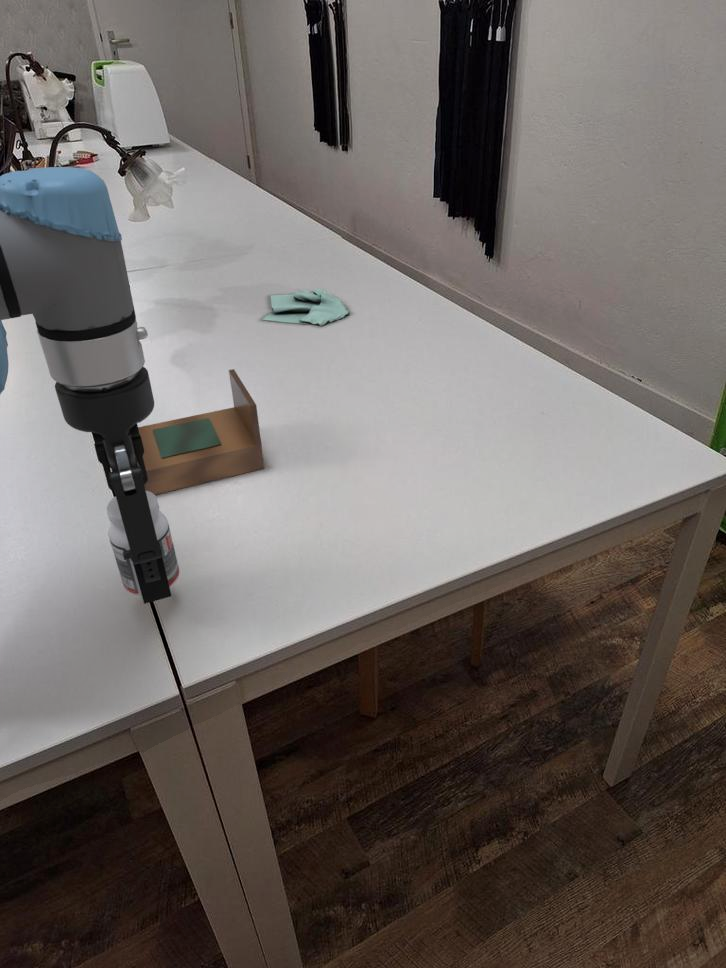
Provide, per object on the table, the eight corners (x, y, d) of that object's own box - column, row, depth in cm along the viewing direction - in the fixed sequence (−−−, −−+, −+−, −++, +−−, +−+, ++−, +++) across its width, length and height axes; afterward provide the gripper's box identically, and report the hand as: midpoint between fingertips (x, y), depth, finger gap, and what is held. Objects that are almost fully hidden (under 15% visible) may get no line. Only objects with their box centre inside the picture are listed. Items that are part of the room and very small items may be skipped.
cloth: (328, 330, 131) (327, 319, 130) (237, 315, 139) (235, 304, 137) (370, 298, 146) (370, 288, 145) (286, 286, 154) (285, 276, 152)
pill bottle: (185, 561, 70) (169, 485, 65) (174, 598, 66) (155, 520, 60) (131, 562, 70) (110, 486, 65) (116, 600, 66) (93, 522, 60)
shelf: (146, 497, 85) (129, 431, 80) (135, 452, 95) (118, 390, 89) (264, 468, 90) (256, 404, 85) (242, 429, 99) (233, 368, 94)
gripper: (164, 413, 49) (207, 628, 62) (133, 328, 63) (173, 518, 76) (57, 433, 46) (125, 653, 59) (49, 340, 61) (106, 534, 74)
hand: (152, 577), depth 68 cm, fingers closed on pill bottle, 6 cm apart
